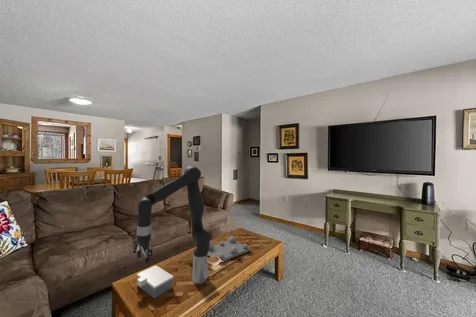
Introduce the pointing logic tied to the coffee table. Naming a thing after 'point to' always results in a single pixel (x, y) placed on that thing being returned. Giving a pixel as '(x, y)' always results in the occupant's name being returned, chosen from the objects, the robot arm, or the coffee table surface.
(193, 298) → the coffee table surface
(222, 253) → the grey knobbed board
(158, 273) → the lid
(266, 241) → the coffee table surface
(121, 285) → the coffee table surface
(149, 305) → the coffee table surface
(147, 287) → the tub
